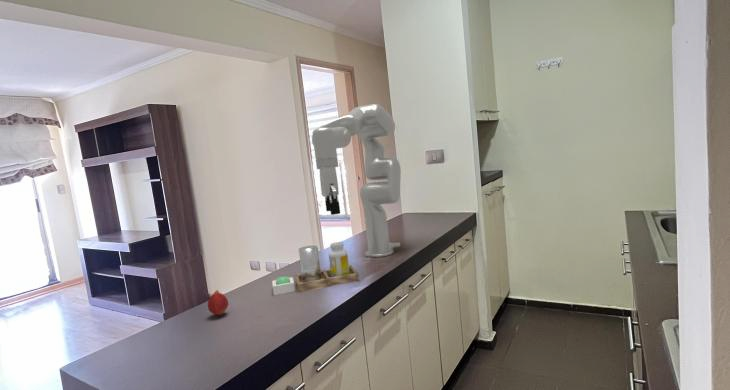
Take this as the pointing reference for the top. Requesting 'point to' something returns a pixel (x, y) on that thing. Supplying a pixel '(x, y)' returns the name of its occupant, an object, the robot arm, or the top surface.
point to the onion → (217, 303)
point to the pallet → (326, 280)
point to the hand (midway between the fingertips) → (333, 212)
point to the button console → (283, 287)
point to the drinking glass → (310, 263)
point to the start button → (282, 280)
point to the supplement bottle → (338, 260)
